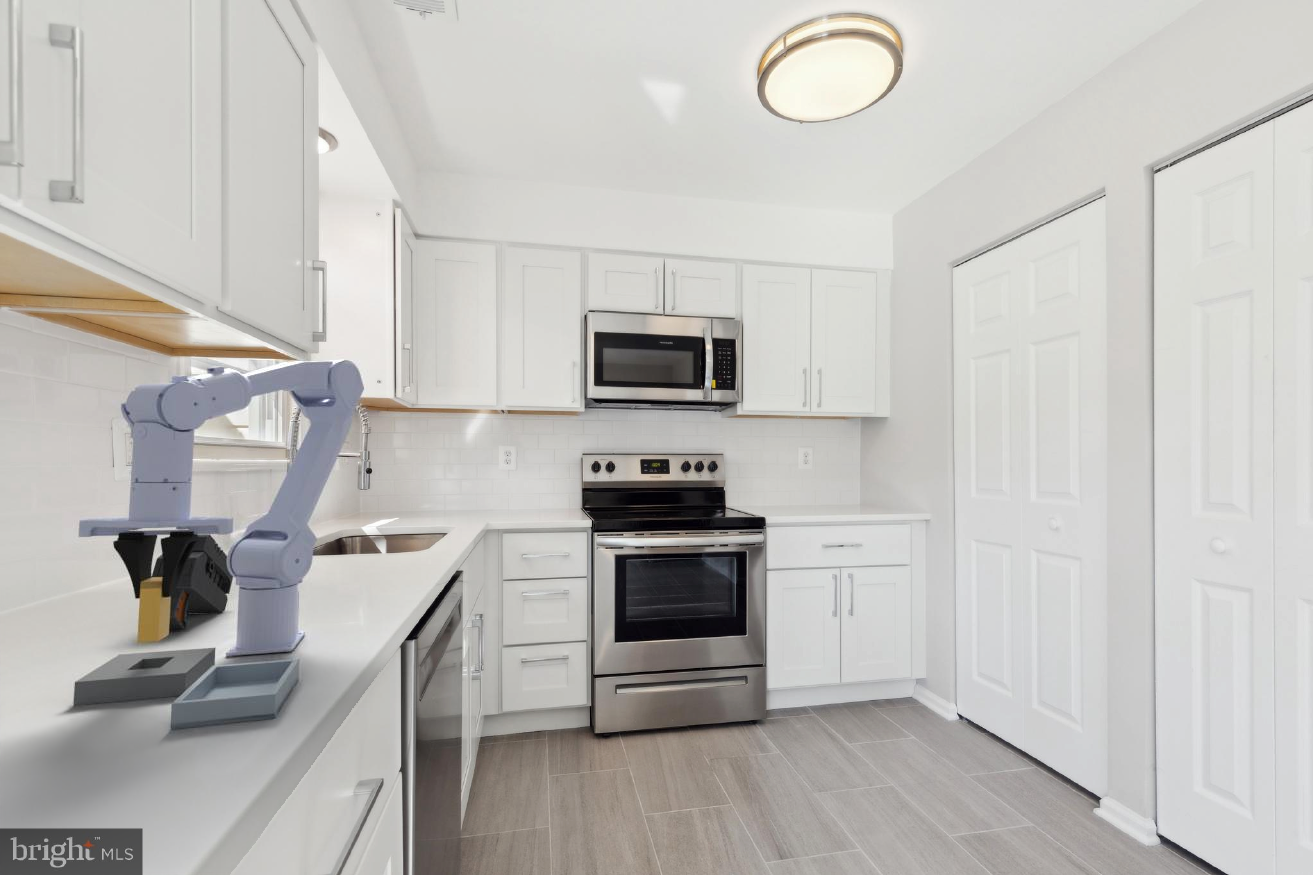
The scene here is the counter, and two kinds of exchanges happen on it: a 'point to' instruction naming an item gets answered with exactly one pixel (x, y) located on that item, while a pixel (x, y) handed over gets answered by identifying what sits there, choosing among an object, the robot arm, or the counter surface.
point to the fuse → (153, 611)
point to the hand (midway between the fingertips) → (155, 596)
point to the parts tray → (236, 694)
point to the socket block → (144, 676)
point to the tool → (199, 583)
